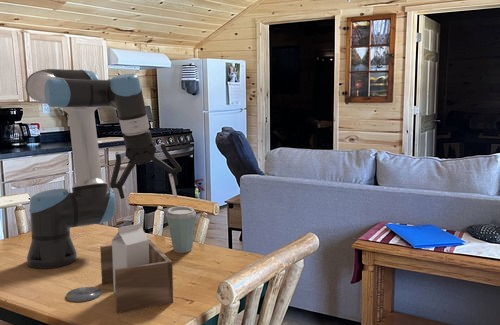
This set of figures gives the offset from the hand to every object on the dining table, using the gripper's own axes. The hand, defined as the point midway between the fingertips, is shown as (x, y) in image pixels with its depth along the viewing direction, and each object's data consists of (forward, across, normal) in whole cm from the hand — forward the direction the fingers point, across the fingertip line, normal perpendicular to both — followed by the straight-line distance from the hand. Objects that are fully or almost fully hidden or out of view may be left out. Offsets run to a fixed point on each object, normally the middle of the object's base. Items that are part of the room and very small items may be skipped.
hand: (152, 201), depth 137 cm
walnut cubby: (+20, -10, -11) cm, 25 cm away
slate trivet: (+18, -24, -9) cm, 31 cm away
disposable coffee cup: (+30, +8, +21) cm, 37 cm away
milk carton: (+20, -11, -11) cm, 26 cm away
